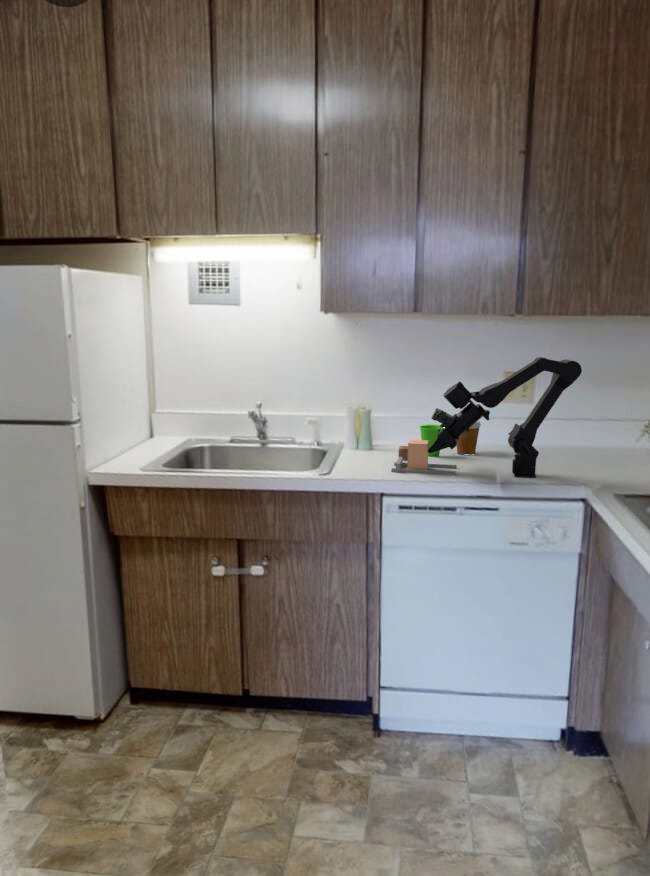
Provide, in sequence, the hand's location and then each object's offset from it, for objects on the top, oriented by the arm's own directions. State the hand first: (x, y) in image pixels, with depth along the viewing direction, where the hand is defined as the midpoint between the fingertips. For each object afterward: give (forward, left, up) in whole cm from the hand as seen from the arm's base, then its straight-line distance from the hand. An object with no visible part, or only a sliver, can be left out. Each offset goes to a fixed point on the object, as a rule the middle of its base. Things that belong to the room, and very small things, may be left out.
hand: (428, 452), depth 212 cm
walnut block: (+8, -15, -7) cm, 19 cm away
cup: (0, -23, -7) cm, 24 cm away
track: (+1, 0, -7) cm, 7 cm away
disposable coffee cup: (-12, -32, -7) cm, 35 cm away
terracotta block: (+3, 0, -6) cm, 7 cm away
